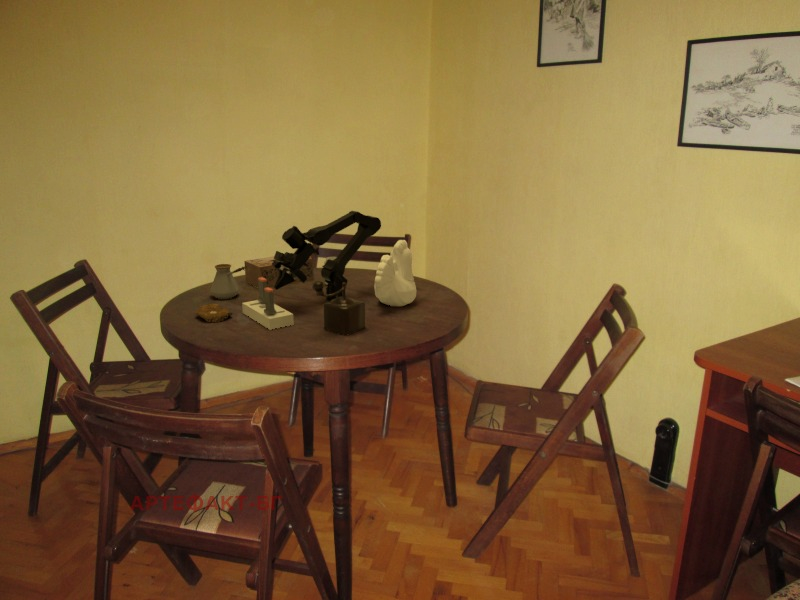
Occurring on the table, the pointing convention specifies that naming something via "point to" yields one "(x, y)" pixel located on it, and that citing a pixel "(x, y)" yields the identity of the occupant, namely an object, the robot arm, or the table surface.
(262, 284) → the switch
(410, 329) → the table surface
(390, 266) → the cream foot sculpture
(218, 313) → the decorative rock
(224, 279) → the coffee pot
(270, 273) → the tissue box cover
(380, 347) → the table surface
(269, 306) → the switch
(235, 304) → the table surface
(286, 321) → the cream lever base
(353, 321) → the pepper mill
